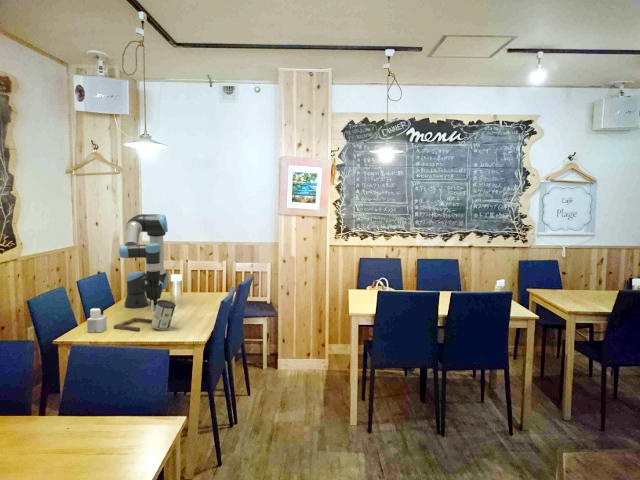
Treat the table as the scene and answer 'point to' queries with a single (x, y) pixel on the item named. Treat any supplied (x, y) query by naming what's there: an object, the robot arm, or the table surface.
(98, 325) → the container
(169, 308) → the coffee can
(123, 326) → the dock
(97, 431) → the table surface
